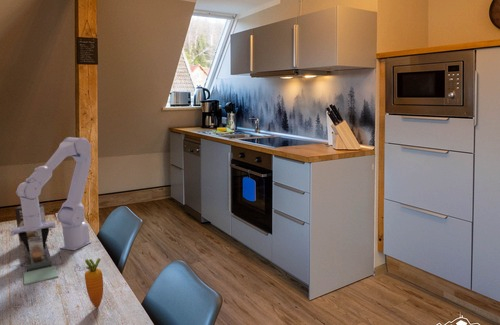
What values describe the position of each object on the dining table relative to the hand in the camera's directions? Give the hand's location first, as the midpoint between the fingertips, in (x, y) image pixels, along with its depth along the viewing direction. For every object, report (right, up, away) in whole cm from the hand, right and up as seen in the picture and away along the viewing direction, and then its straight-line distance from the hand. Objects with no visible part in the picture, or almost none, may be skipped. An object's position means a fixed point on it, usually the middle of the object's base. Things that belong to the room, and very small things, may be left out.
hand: (36, 249), depth 154 cm
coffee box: (-11, -1, +19) cm, 22 cm away
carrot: (+36, -9, -36) cm, 52 cm away
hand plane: (0, -4, +1) cm, 4 cm away
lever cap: (0, -2, 0) cm, 2 cm away
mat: (+8, -6, -13) cm, 16 cm away
